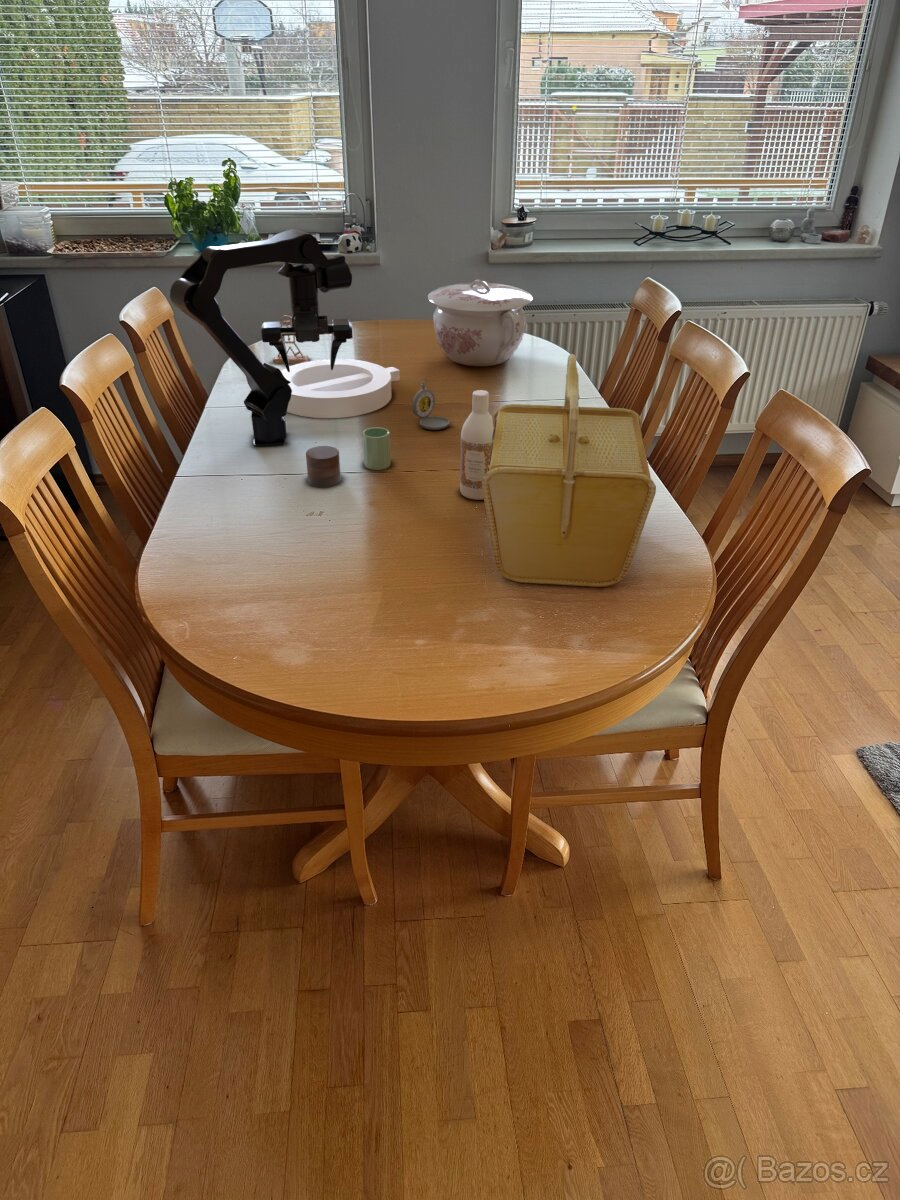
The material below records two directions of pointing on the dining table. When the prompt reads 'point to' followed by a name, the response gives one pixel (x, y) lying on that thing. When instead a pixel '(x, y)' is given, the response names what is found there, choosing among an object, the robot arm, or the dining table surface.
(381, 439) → the plastic cup
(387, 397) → the ring with crossbar
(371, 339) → the dining table surface
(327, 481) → the base chip
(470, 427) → the bath foam
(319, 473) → the middle chip
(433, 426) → the pocket watch
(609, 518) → the picnic basket
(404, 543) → the dining table surface
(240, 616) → the dining table surface
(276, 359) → the gingerbread man figurine
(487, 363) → the chamber pot
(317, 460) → the dark brown wooden disc
